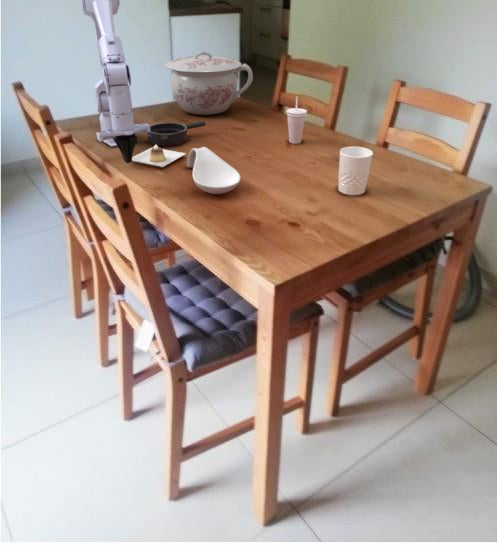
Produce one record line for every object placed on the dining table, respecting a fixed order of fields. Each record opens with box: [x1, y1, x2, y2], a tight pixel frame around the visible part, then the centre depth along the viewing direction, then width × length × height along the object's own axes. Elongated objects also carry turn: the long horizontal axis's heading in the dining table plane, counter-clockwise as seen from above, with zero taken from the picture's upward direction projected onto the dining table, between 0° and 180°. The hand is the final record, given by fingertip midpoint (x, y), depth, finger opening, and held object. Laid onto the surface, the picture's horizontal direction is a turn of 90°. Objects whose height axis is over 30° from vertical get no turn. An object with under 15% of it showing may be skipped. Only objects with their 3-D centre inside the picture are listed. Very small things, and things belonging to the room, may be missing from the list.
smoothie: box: [286, 95, 308, 145], centre depth 153 cm, size 6×6×14 cm
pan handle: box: [184, 120, 206, 130], centre depth 160 cm, size 2×8×2 cm, turn 127°
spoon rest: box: [186, 146, 241, 195], centre depth 127 cm, size 24×12×7 cm, turn 24°
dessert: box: [131, 145, 187, 169], centre depth 141 cm, size 12×12×5 cm
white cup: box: [337, 146, 374, 196], centre depth 122 cm, size 8×8×10 cm
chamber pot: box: [164, 50, 254, 116], centre depth 181 cm, size 28×28×21 cm
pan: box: [146, 122, 188, 147], centre depth 156 cm, size 12×12×4 cm
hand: (128, 161), depth 137 cm, fingers closed
